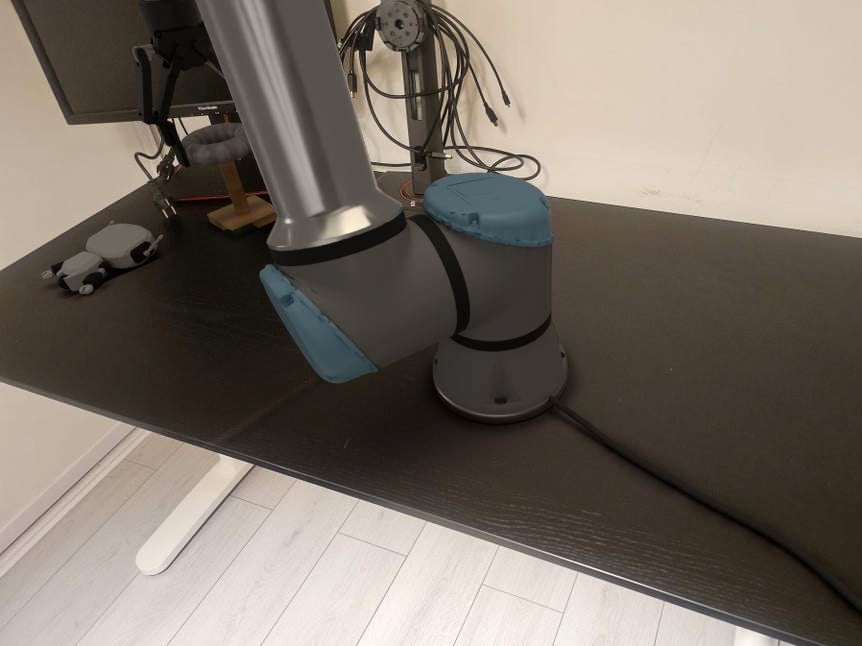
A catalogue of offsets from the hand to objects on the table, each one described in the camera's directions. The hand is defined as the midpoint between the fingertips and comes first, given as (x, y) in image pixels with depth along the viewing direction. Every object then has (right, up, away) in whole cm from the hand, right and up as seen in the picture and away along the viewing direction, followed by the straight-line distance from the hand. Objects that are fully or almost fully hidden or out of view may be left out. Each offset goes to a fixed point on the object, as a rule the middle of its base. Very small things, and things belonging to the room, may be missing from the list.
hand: (221, 151), depth 96 cm
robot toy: (-16, -19, -2) cm, 25 cm away
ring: (0, +1, -1) cm, 1 cm away
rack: (+1, -9, +8) cm, 12 cm away
